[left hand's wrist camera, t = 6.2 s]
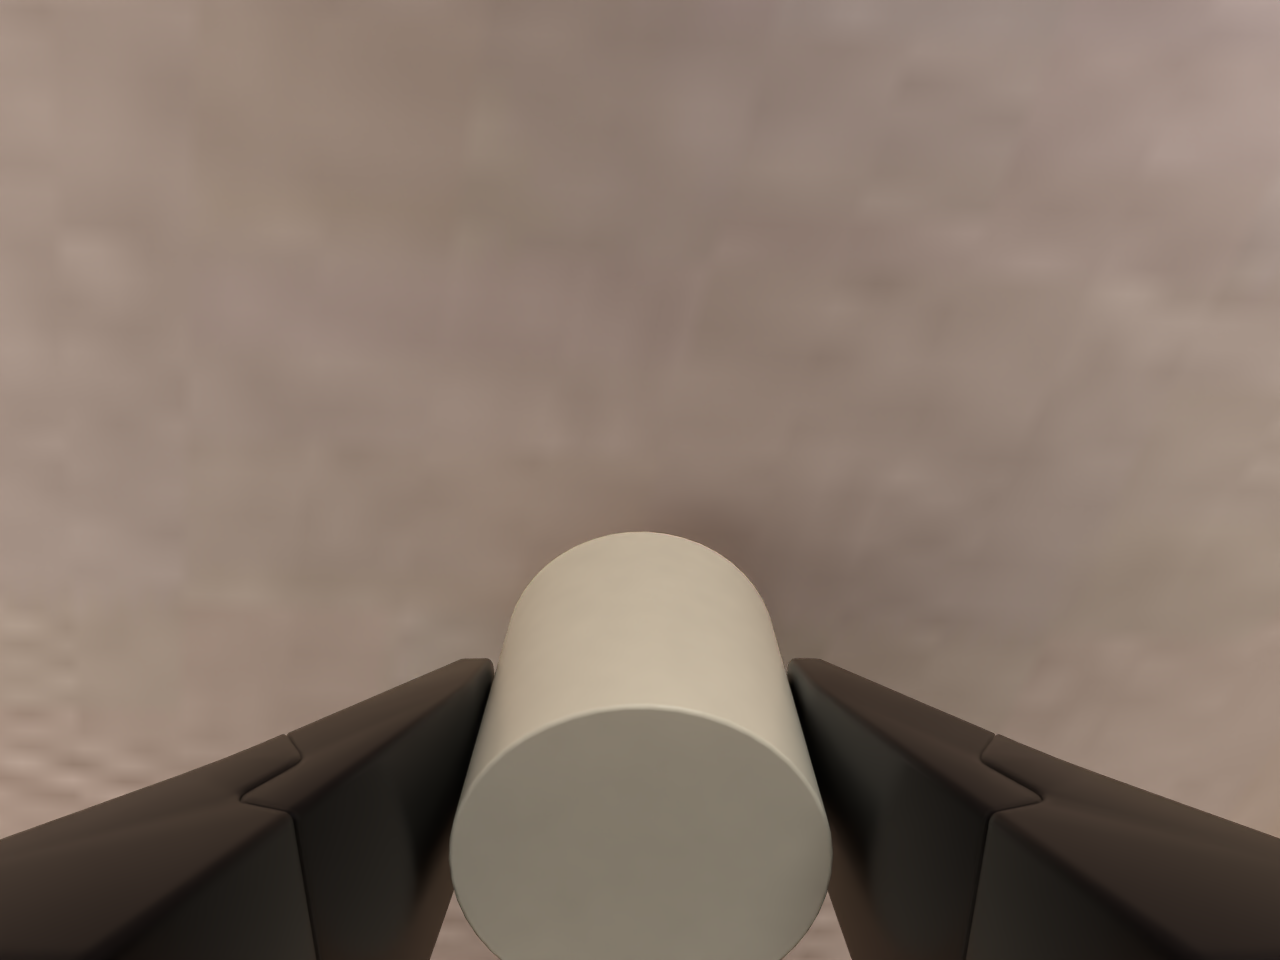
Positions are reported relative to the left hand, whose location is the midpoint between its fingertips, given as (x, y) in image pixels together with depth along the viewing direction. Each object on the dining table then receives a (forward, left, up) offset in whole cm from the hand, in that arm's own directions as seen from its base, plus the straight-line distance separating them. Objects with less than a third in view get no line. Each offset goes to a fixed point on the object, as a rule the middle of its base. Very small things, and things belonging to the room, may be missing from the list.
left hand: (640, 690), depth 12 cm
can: (0, 0, -1) cm, 1 cm away
